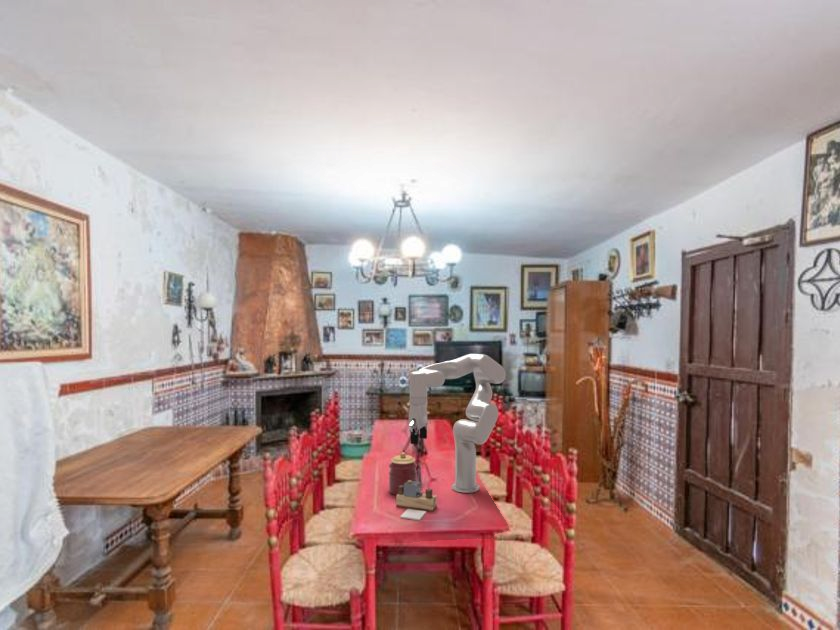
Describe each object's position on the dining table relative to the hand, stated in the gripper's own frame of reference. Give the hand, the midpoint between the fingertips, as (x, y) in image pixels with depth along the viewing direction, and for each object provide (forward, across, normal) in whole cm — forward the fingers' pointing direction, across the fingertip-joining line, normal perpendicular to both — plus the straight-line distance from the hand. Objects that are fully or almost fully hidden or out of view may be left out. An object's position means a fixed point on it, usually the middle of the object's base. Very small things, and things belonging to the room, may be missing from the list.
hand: (418, 441), depth 198 cm
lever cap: (+22, +3, -2) cm, 22 cm away
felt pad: (+26, +12, +2) cm, 29 cm away
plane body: (+26, +3, 0) cm, 27 cm away
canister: (+27, -11, -13) cm, 32 cm away
